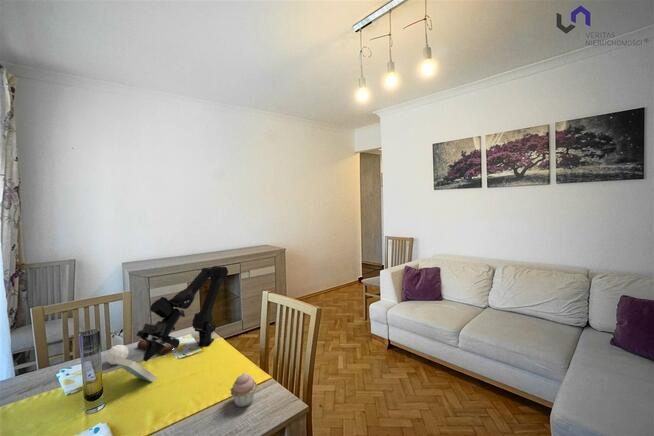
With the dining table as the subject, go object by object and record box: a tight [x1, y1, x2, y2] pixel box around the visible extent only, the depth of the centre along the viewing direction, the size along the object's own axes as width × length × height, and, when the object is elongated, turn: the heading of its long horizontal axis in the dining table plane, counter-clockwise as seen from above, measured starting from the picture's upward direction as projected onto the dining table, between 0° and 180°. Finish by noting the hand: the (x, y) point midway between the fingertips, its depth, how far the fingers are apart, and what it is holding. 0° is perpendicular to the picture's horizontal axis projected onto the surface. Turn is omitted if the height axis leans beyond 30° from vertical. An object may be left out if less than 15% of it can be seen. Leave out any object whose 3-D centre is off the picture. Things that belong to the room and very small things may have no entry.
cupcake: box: [229, 372, 258, 408], centre depth 98 cm, size 9×9×10 cm
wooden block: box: [115, 357, 157, 383], centre depth 106 cm, size 2×8×14 cm
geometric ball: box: [105, 344, 130, 365], centre depth 121 cm, size 8×8×8 cm
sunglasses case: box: [137, 339, 173, 356], centre depth 133 cm, size 18×7×7 cm
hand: (144, 360), depth 109 cm, fingers closed
